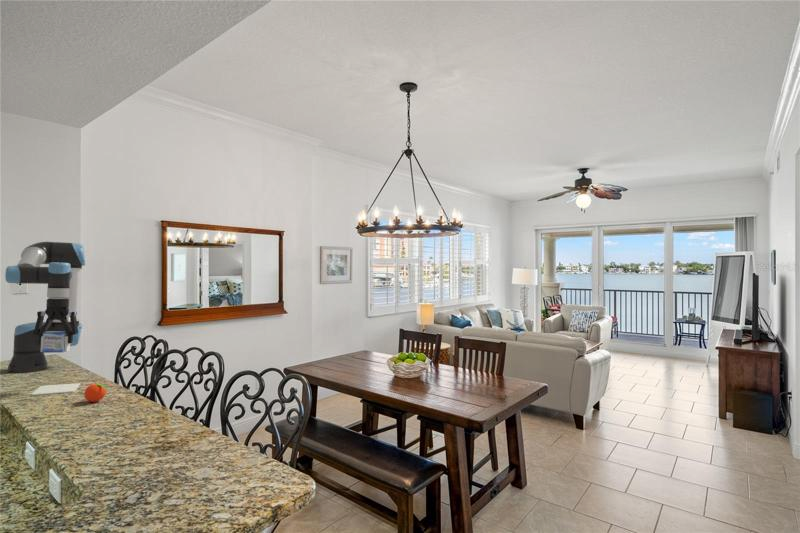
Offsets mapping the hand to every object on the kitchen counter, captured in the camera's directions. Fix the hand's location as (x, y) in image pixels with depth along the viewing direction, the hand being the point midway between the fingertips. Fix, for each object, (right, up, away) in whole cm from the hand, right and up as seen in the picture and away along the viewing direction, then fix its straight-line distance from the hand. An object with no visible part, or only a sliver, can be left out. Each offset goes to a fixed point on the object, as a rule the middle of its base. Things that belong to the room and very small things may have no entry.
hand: (55, 351), depth 183 cm
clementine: (+29, -17, -16) cm, 37 cm away
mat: (+2, -16, -2) cm, 16 cm away
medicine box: (0, 0, 0) cm, 0 cm away
